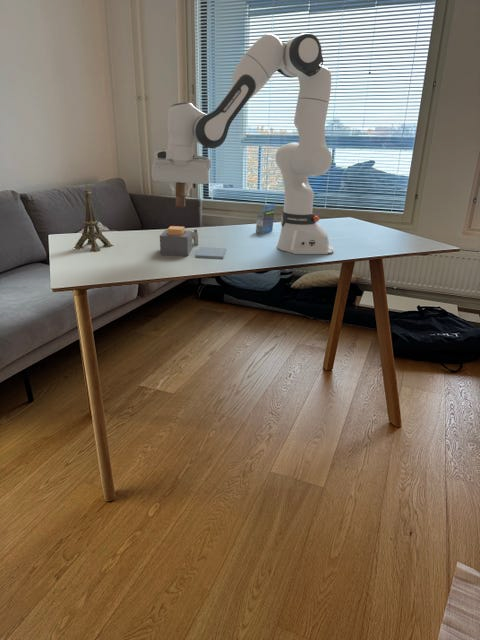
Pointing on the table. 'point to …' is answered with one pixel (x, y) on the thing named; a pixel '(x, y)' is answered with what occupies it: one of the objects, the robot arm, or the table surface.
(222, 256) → the rest pad
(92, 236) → the eiffel tower
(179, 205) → the brown rectangular block
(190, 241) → the box
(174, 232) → the button
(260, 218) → the label tape box
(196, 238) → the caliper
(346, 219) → the table surface
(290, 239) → the robot arm
